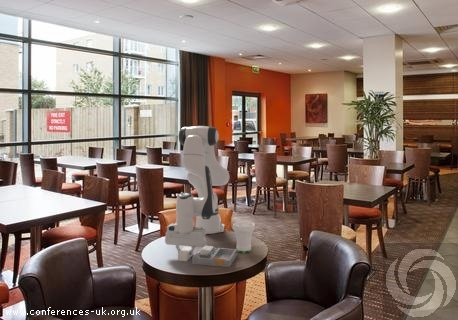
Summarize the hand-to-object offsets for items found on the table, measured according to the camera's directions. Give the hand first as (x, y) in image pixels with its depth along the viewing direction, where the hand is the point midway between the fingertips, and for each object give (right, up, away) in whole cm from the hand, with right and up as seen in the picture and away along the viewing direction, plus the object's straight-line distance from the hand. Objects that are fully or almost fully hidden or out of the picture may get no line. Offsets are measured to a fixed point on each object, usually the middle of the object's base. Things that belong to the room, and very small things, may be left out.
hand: (185, 254), depth 197 cm
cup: (+29, -1, +10) cm, 31 cm away
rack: (+15, -2, -3) cm, 15 cm away
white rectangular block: (0, -2, 0) cm, 2 cm away
